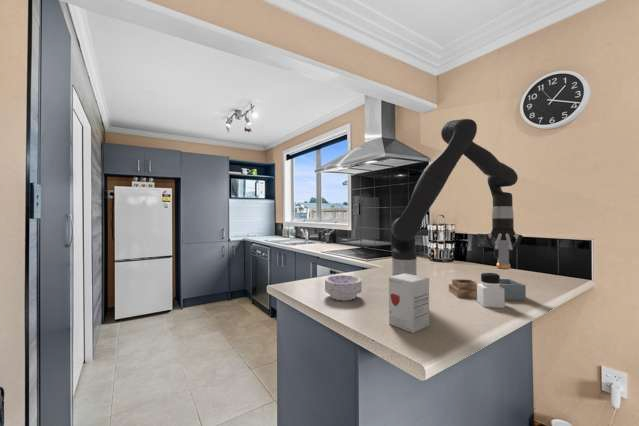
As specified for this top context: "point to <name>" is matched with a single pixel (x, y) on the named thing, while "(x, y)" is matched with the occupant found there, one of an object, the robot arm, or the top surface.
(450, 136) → the robot arm
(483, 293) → the medicine bottle
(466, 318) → the top surface
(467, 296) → the socket block
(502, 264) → the strut
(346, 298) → the pale lilac bowl
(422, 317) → the supplement box
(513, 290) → the bin
